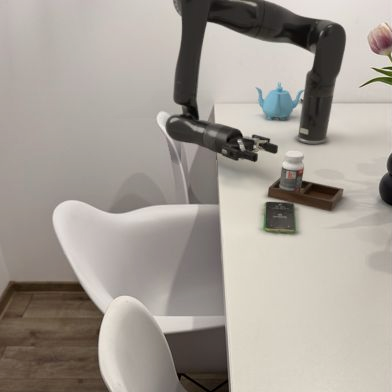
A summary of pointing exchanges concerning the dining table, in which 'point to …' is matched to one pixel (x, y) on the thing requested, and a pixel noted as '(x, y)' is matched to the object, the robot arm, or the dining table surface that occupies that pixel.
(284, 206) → the smartphone
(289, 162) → the pill bottle
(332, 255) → the dining table surface
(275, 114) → the teapot
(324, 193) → the tray
